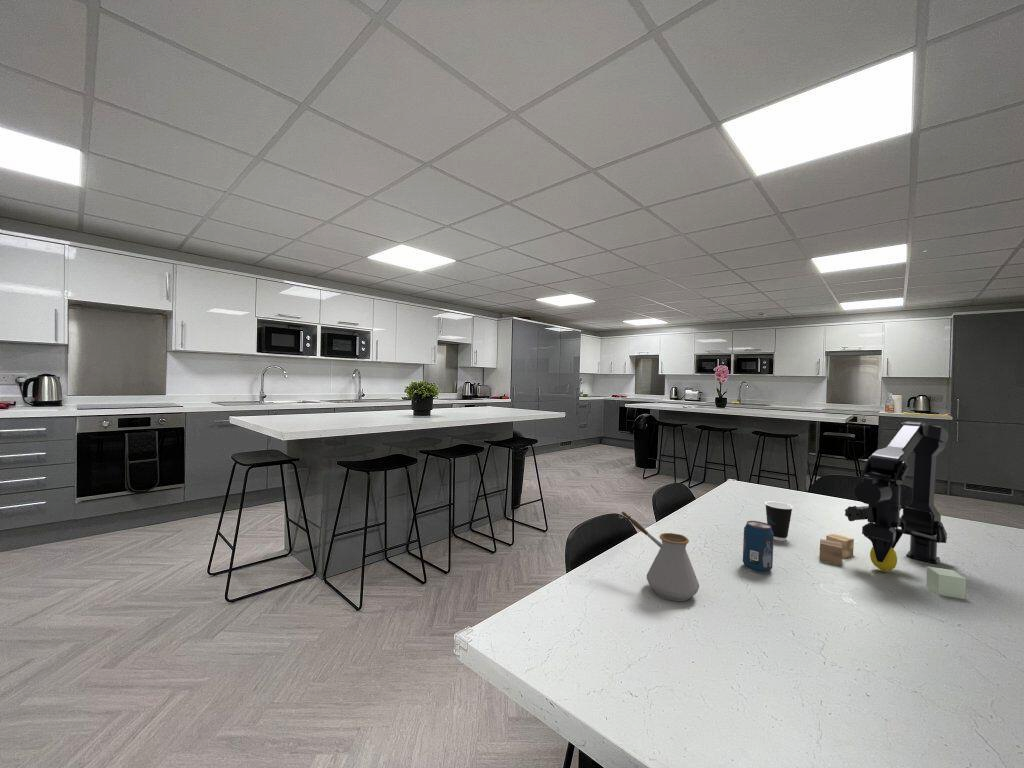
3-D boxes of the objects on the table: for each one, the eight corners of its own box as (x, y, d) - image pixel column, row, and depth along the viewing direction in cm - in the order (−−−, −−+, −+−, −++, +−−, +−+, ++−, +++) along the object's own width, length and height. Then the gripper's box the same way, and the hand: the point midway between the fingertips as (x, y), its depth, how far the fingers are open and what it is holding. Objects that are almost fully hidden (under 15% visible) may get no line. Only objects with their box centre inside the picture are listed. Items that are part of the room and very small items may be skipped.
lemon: (902, 577, 110) (903, 547, 110) (877, 574, 112) (878, 545, 112) (887, 568, 116) (888, 540, 116) (864, 566, 117) (865, 537, 117)
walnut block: (819, 555, 124) (820, 538, 124) (840, 560, 121) (841, 543, 121) (819, 560, 120) (820, 543, 120) (841, 565, 117) (842, 548, 117)
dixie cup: (794, 538, 137) (795, 505, 137) (788, 544, 132) (789, 509, 132) (767, 532, 143) (768, 500, 143) (760, 537, 137) (761, 503, 137)
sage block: (926, 585, 106) (927, 566, 106) (952, 590, 104) (952, 570, 104) (937, 594, 102) (938, 574, 102) (965, 599, 100) (965, 578, 100)
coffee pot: (708, 596, 96) (711, 531, 96) (680, 611, 89) (683, 541, 89) (632, 562, 113) (634, 507, 113) (603, 572, 106) (606, 514, 106)
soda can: (747, 560, 117) (748, 518, 117) (775, 569, 112) (777, 524, 113) (738, 567, 113) (740, 523, 113) (768, 577, 108) (769, 530, 108)
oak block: (833, 549, 129) (834, 533, 129) (853, 555, 125) (853, 538, 125) (825, 551, 127) (826, 535, 127) (845, 558, 123) (845, 541, 123)
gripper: (857, 489, 126) (855, 541, 126) (839, 498, 114) (837, 555, 114) (907, 498, 117) (905, 554, 117) (893, 508, 105) (891, 570, 105)
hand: (883, 557), depth 114 cm, fingers open, 9 cm apart
